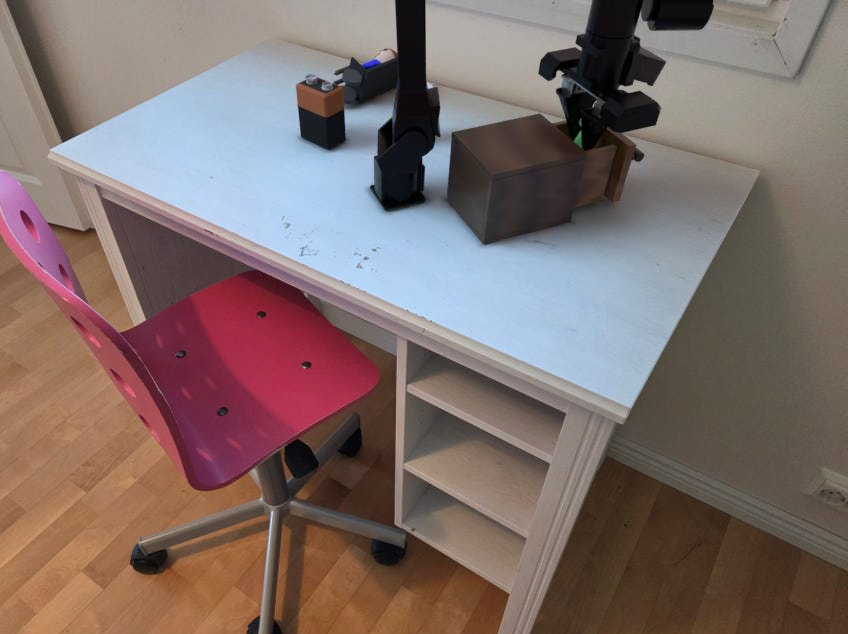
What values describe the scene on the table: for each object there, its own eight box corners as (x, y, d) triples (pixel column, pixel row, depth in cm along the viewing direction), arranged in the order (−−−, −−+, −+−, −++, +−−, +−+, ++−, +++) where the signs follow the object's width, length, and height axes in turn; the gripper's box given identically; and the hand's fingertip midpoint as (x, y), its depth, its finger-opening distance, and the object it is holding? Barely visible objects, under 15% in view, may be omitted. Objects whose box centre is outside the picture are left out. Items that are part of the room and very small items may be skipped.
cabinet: (527, 180, 98) (540, 113, 91) (570, 222, 91) (587, 152, 83) (446, 199, 95) (451, 131, 87) (483, 244, 88) (492, 175, 80)
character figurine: (327, 104, 117) (388, 79, 124) (353, 115, 113) (415, 88, 120) (322, 58, 112) (386, 35, 118) (349, 68, 108) (414, 43, 114)
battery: (318, 128, 111) (313, 68, 103) (347, 141, 107) (344, 80, 100) (299, 138, 108) (293, 78, 101) (328, 151, 105) (324, 90, 98)
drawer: (601, 160, 100) (616, 104, 94) (643, 195, 93) (663, 138, 87) (505, 182, 96) (514, 127, 90) (542, 221, 90) (554, 163, 83)
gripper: (718, 48, 74) (673, 170, 86) (620, -5, 86) (592, 108, 98) (636, 64, 72) (601, 187, 83) (547, 7, 84) (527, 122, 95)
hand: (581, 148), depth 90 cm, fingers closed
